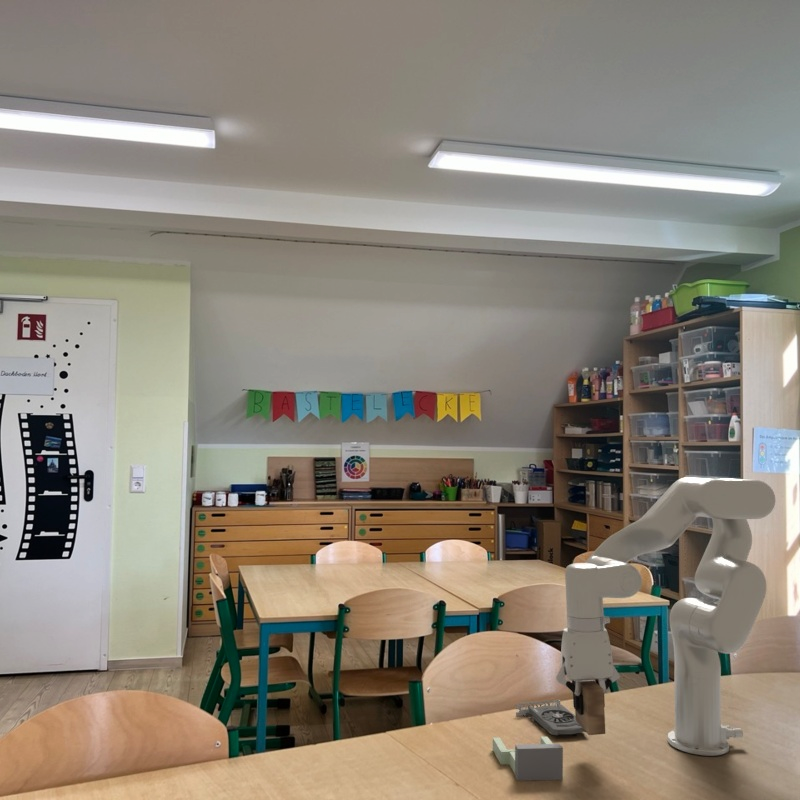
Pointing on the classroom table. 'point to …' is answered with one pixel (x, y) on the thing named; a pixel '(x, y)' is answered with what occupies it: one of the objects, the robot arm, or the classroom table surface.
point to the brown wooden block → (592, 708)
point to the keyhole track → (532, 759)
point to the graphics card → (551, 717)
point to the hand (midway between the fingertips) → (589, 711)
